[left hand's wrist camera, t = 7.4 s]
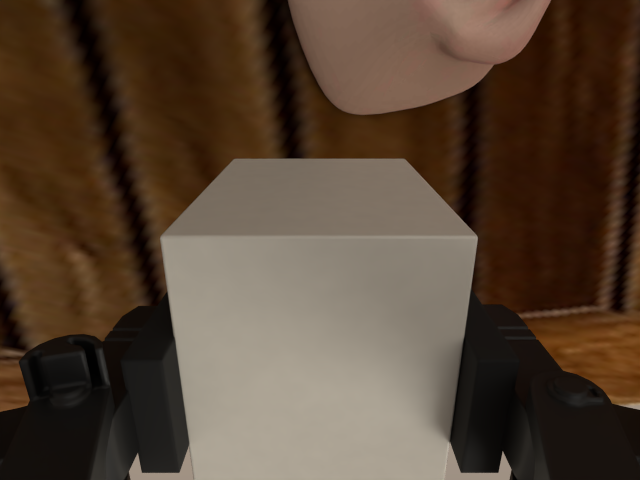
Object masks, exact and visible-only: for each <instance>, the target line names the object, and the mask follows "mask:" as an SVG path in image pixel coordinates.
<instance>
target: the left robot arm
mask: <svg viewBox="0 0 640 480" xmlns="http://www.w3.org/2000/svg"><path fill="white" fill-rule="evenodd" d="M19 364H20V368H21V371H22V375H23V378H24V381H25V385H26V388H27V392H28V395H29V399H30V401H29V404H28V406H25V407H21V408H17V409H12V410H7V411H3V412H0V480H130V476H129V470H130V468H131V466H132V463H133V461H134V459H135V457H136V455H137V453H138V455H139V460H140V465H141V470H142V473H179V472H180V469H181V466H182V464H183V461H184V458H185V455H186V452H187V449H188V446H189V437H188V430H187V422H186V415H185V408H184V401H183V394H182V386H181V379H180V372H179V365H178V357H177V350H176V343H175V337H174V334H173V327H172V320H171V312H170V305H169V298H168V291H167V293H166V294H165V296H164V297H163V299H162V300H161V301H160V303H159V304H158V306H138V307H136V308H135V309H133V310H132V311H130V312H129V313H127V314H125V315H124V316H122V318H121V319H120V320H119V321H118V323H117V324H116V325H115V326H114V328H113V331H110V333H109V334H108V335H107V336H106V338H105V341H100V340H99V339H98V338H96V337H95V336H90V335H85V334H78V335H67V336H63V337H59V338H54V339H52V340H49V341H47V342H44V343H42V344H40V345H38V346H36V347H35V348H33V349H32V350H30V351H29V352H27V353H26V354H25V355H24V356H23V357H22V359H21V360H20V361H19ZM450 443H451V446H452V448H453V451H454V454H455V457H456V460H457V463H458V466H459V468H460V471H461V473H498V472H499V466H500V461H501V456H502V451H503V452H504V454H505V456H506V458H507V461H508V463H509V465H510V467H511V469H512V471H511V476H510V480H640V410H637V409H633V408H628V407H623V406H619V405H615V404H612V403H611V401H610V399H609V398H608V396H607V395H606V394H605V392H604V391H603V390H602V389H601V388H600V387H598V386H597V385H595V384H594V383H593V382H591V381H590V380H587V379H585V378H583V377H581V376H579V375H577V374H573V373H569V372H565V371H563V370H562V369H561V368H560V366H559V365H558V364H557V363H556V362H555V360H554V359H553V358H552V357H551V355H550V354H549V353H548V352H547V350H546V349H545V348H544V347H543V345H542V344H541V343H540V342H539V340H536V337H535V335H534V334H533V333H532V332H531V330H530V329H528V327H527V325H526V324H525V323H524V322H523V320H522V319H521V318H520V317H519V315H517V314H516V313H514V312H513V311H511V310H509V309H508V308H506V307H505V306H503V305H482V304H481V302H480V301H479V300H478V298H477V297H476V295H475V294H474V292H473V291H472V289H471V291H470V298H469V305H468V312H467V320H466V327H465V334H464V342H463V349H462V356H461V364H460V371H459V378H458V385H457V393H456V400H455V407H454V415H453V422H452V429H451V436H450Z"/></svg>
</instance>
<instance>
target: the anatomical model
mask: <svg viewBox="0 0 640 480" xmlns="http://www.w3.org/2000/svg"><path fill="white" fill-rule="evenodd" d="M550 1H551V0H288V3H289V7H290V11H291V15H292V19H293V23H294V26H295V29H296V32H297V34H298V37H299V40H300V43H301V46H302V49H303V51H304V54H305V56H306V58H307V61H308V63H309V66H310V68H311V70H312V72H313V74H314V76H315V78H316V80H317V82H318V84H319V86H320V87H321V89H322V91H323V92H324V94H325V95H326V97H327V98H328V99H329V100H330V101H331V102H332V103H333V104H334V105H335V106H336V107H337V108H339V109H341V110H342V111H345V112H347V113H351V114H359V115H368V114H382V113H387V112H393V111H399V110H404V109H410V108H415V107H419V106H424V105H427V104H430V103H433V102H436V101H439V100H442V99H445V98H448V97H450V96H453V95H456V94H458V93H461V92H463V91H465V90H467V89H469V88H470V87H472V86H474V85H475V84H476V83H478V82H479V81H480V80H481V79H482V78H483V77H484V76H485V75H486V74H487V73H488V71H489V70H490V69H491V68H492V67H493V65H494V64H499V63H502V62H505V61H507V60H509V59H511V58H513V57H514V56H516V55H517V54H518V53H519V52H520V51H521V50H522V49H523V48H524V47H525V46H526V44H527V43H528V41H529V40H530V38H531V37H532V35H533V33H534V31H535V30H536V28H537V26H538V24H539V22H540V20H541V18H542V16H543V14H544V12H545V11H546V9H547V7H548V5H549V3H550Z"/></svg>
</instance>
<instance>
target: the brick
mask: <svg viewBox="0 0 640 480" xmlns="http://www.w3.org/2000/svg"><path fill="white" fill-rule="evenodd" d="M160 240H161V248H162V255H163V262H164V269H165V276H166V284H167V291H168V298H169V305H170V312H171V320H172V327H173V334H174V337H175V343H176V350H177V357H178V365H179V372H180V379H181V386H182V394H183V401H184V408H185V415H186V422H187V430H188V437H189V449H190V456H191V463H192V471H193V478H194V480H445V473H446V466H447V458H448V451H449V444H450V436H451V429H452V422H453V415H454V407H455V400H456V393H457V385H458V378H459V371H460V364H461V356H462V349H463V342H464V334H465V327H466V320H467V312H468V305H469V298H470V291H471V283H472V276H473V269H474V261H475V254H476V247H477V240H478V238H477V235H476V234H475V233H474V232H473V231H472V230H471V229H470V228H469V227H468V226H467V225H466V224H465V223H464V222H463V220H462V219H461V218H460V217H459V216H458V215H457V214H456V213H455V212H454V211H453V210H452V209H451V208H450V207H449V206H448V204H447V203H446V202H445V201H444V200H443V199H442V198H441V197H440V196H439V195H438V194H437V193H436V192H435V191H434V190H433V189H432V187H431V186H430V185H429V184H428V183H427V182H426V181H425V180H424V179H423V178H422V177H421V176H420V175H419V174H418V173H417V172H416V170H415V169H414V168H413V167H412V166H411V165H410V164H409V163H408V162H407V161H406V160H405V159H234V160H233V161H232V162H231V163H230V164H229V165H228V166H227V167H226V168H225V169H224V170H223V171H222V172H221V173H220V174H219V175H218V176H217V177H216V179H215V180H214V181H213V182H212V183H211V184H210V185H209V186H208V187H207V188H206V189H205V190H204V191H203V192H202V193H201V194H200V195H199V196H198V197H197V198H196V200H195V201H194V202H193V203H192V204H191V205H190V206H189V207H188V208H187V209H186V210H185V211H184V212H183V213H182V214H181V215H180V216H179V217H178V218H177V219H176V221H175V222H174V223H173V224H172V225H171V226H170V227H169V228H168V229H167V230H166V231H165V232H164V233H163V234H162V235H161V237H160Z"/></svg>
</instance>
